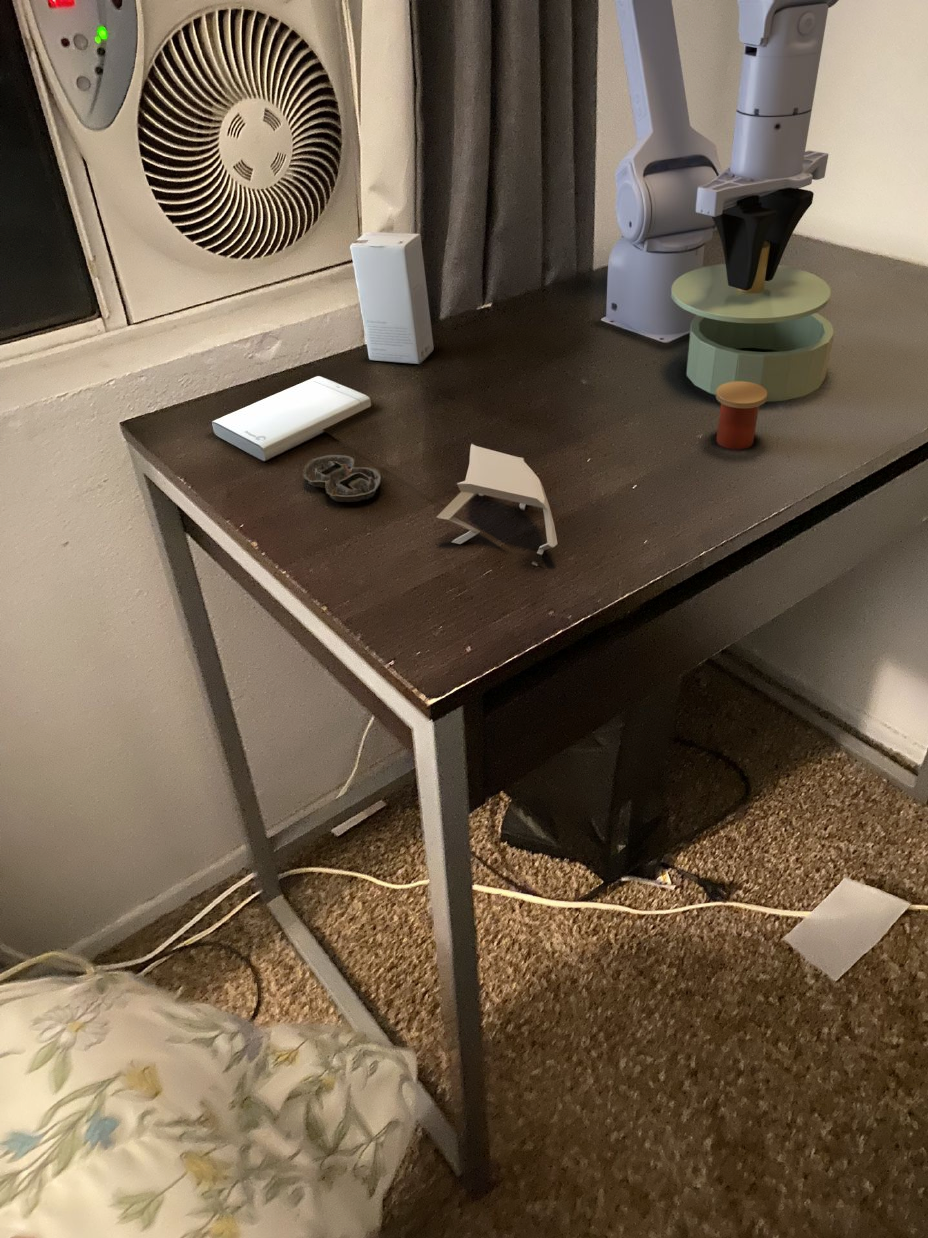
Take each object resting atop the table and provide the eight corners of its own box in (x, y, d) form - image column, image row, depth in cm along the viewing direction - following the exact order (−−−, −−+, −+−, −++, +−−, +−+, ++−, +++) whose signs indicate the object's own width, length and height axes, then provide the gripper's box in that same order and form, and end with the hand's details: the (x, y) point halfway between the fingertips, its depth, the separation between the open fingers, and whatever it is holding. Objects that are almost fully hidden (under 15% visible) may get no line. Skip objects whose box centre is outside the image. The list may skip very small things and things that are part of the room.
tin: (658, 378, 87) (661, 329, 84) (741, 339, 93) (748, 291, 90) (767, 421, 80) (775, 368, 76) (851, 375, 85) (862, 324, 82)
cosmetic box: (435, 349, 96) (424, 231, 88) (419, 367, 93) (407, 245, 85) (382, 345, 98) (367, 228, 90) (365, 362, 95) (348, 242, 87)
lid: (639, 302, 82) (642, 247, 79) (735, 264, 88) (742, 211, 85) (763, 344, 74) (772, 283, 70) (860, 298, 80) (872, 240, 77)
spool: (699, 446, 77) (706, 392, 74) (729, 430, 79) (737, 376, 76) (738, 463, 74) (746, 407, 71) (768, 446, 76) (777, 391, 73)
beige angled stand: (412, 530, 70) (405, 475, 67) (486, 486, 74) (483, 432, 71) (529, 592, 63) (528, 533, 60) (603, 539, 67) (606, 481, 64)
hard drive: (262, 446, 78) (370, 395, 85) (210, 419, 83) (316, 372, 90) (266, 463, 80) (372, 411, 86) (214, 435, 84) (319, 388, 91)
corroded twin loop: (336, 457, 79) (335, 447, 78) (396, 488, 74) (395, 477, 74) (290, 480, 77) (288, 470, 76) (349, 514, 72) (347, 503, 71)
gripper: (757, 133, 65) (733, 317, 74) (872, 97, 72) (838, 270, 81) (682, 121, 70) (668, 296, 79) (797, 89, 76) (772, 253, 85)
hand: (750, 282), depth 80 cm, fingers closed on lid, 2 cm apart
